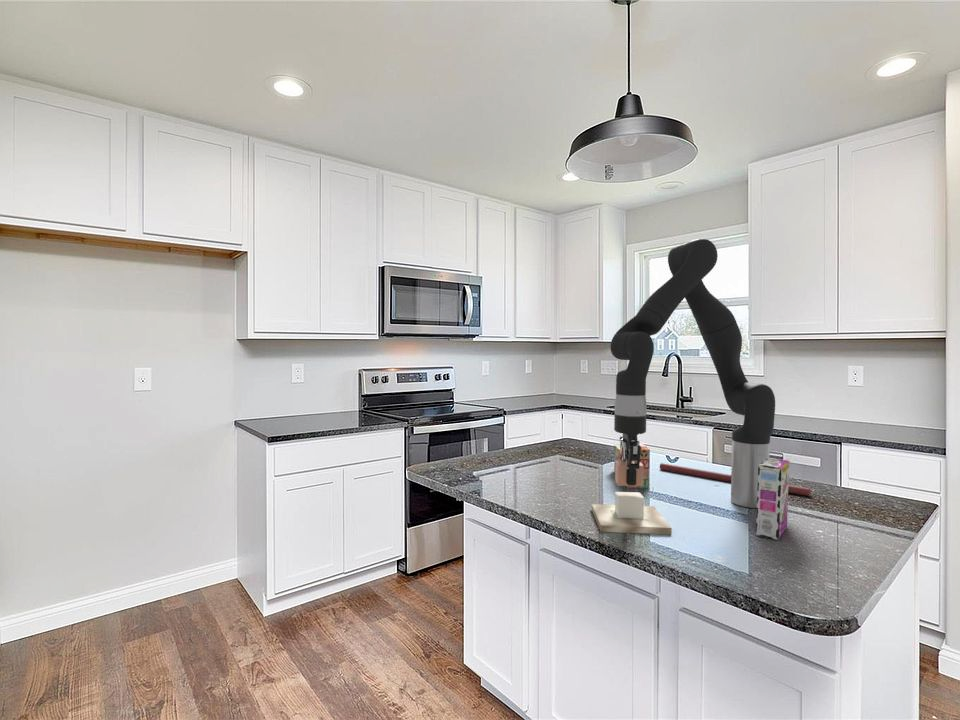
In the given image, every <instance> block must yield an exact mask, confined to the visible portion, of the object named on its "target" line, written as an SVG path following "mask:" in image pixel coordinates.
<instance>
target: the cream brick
mask: <svg viewBox="0 0 960 720" xmlns="http://www.w3.org/2000/svg"><path fill="white" fill-rule="evenodd" d="M614 493H615V494H614V505H615V512H616V514H617V516H618V518H644V506H645V502H644V501H645V497H644V496H643V494H641V492H636V491H635V492H634V491H633V492H632V491H630V492H629V491H615V492H614Z"/></svg>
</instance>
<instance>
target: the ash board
mask: <svg viewBox="0 0 960 720" xmlns="http://www.w3.org/2000/svg"><path fill="white" fill-rule="evenodd" d="M591 511H592V513H593V517H594V518H595V520H596V523H597V526H598V528H599V531H600V532H601V533H626V534H627V533H629V534H651V535H653V534H655V535H672V530H673V529H672V526H671V525H670V524H669V522H668V521H667V520H666V519H665V518H664V517H663V516H662V513H660V511H659V510H658V509H657V507H656V506H654V505H644V518H618V516H617V514H616V512H615V504H601V503H600V504H599V503H598V504H596V503H595V504H591Z"/></svg>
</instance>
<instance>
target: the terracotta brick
mask: <svg viewBox="0 0 960 720" xmlns="http://www.w3.org/2000/svg"><path fill="white" fill-rule="evenodd" d="M631 464H634V461H631ZM639 466H640V467H639V469H637V470H636V485H627V483H626V474H627V469H626V461H615V471H614V474H615V475H614V481H615V484H616V485H617V486H619V487H620V486H625V487H627V486H643V474H644V466H643V465H642V463H641V462H640V465H639Z"/></svg>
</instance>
